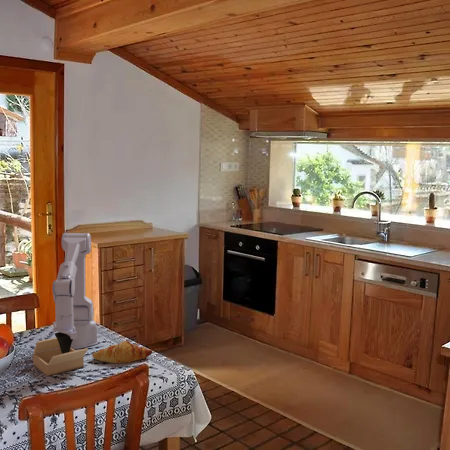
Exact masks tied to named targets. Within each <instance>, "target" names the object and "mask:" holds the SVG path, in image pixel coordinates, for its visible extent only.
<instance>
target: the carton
mask: <svg viewBox="0 0 450 450" xmlns="http://www.w3.org/2000/svg"><path fill="white" fill-rule="evenodd" d="M73 351H77V349H74V348H72V347H71V348H70V352H73ZM60 354H62V352H61V349H60V348H56V349H51V350H47V351H43V352H38V353H33V354H32V360H33V361H32V365H33V366H34V367H35V368H36V369H38V370H39V371H40V372H41V373H43V374H44V376H46V377H50V376H53V375H58V374H60V373H65V372H70V371H72V370H76V369H80V368H84V367H85V365H84V364H85V363H84V356H83V357H82V358H78V359H74V360H70V361H66V362H62V363H58V364H54V365H50V366H48V363H49V362H50V360H51V358H52V357H53V356H56V355H60Z"/></svg>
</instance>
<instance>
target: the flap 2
mask: <svg viewBox="0 0 450 450" xmlns="http://www.w3.org/2000/svg"><path fill="white" fill-rule="evenodd" d="M88 350H89V348H88V347H84V348H83V349H82V348H80V349H76V351H73V352H69V353H64V354H60V355H56V356H53V357H52V358H51V360H50V362H49V363H48V366H50V365H54V364H58V363H62V362H66V361H70V360H74V359H78V358H82V357H83V358H84V356H85V355H86V353H87V352H88Z"/></svg>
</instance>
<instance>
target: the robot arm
mask: <svg viewBox="0 0 450 450" xmlns="http://www.w3.org/2000/svg"><path fill="white" fill-rule="evenodd" d="M60 242H61V249H62V250H63V251H64V252H65V256H64V262H62V263H61V264H60V265H59V269H58V273H57V277H56V279H55V280H53V283H52V289H51V290H52V296H53V302H54V304H55V311H54V312H55V321H53V322H52V325H53V328H52V332H54V336H55V338H57V340H58V342H59V345H60V349H61V352H62V354H64V353H69V352H70V348H73V349H74V350H80V349H82V348H83V349H84V348H88V347H92V346H95V345H98V344H99V342H98V327H97V323H96V321H95V319H94V316H95V315H94V314H95V309H94V302H93V299H91V298H89V297H88V296H87V295H86V258H87V255H89V254H91V251H92V235H91V234H90V232H87V233H86V232H85V233H84V232H83V233H82V232H63V233H62V236H61V241H60Z"/></svg>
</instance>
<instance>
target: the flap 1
mask: <svg viewBox="0 0 450 450" xmlns="http://www.w3.org/2000/svg"><path fill="white" fill-rule="evenodd" d="M57 348H60V345H59V342H58V340H57V338H56V337H53V338H47V339H44V340H43V339H42V340H39V341H36V343H35V347H34V350H33V354H35V353H39V352H44V351H48V350H52V349H57Z"/></svg>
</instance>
